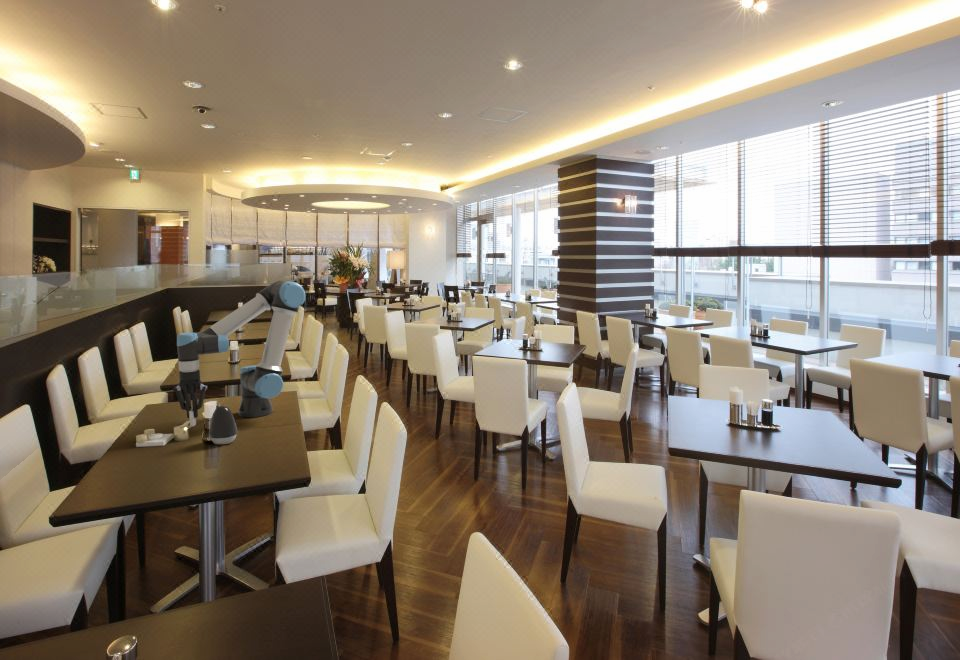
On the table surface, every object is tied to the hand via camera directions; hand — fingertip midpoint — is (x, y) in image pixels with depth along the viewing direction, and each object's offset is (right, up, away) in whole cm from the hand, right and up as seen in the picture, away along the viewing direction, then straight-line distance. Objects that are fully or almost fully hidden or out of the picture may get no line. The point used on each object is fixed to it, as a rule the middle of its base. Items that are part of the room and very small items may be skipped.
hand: (193, 425), depth 227 cm
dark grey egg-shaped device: (+18, -5, -10) cm, 21 cm away
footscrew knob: (-1, -4, -4) cm, 6 cm away
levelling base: (-10, -5, -9) cm, 14 cm away
